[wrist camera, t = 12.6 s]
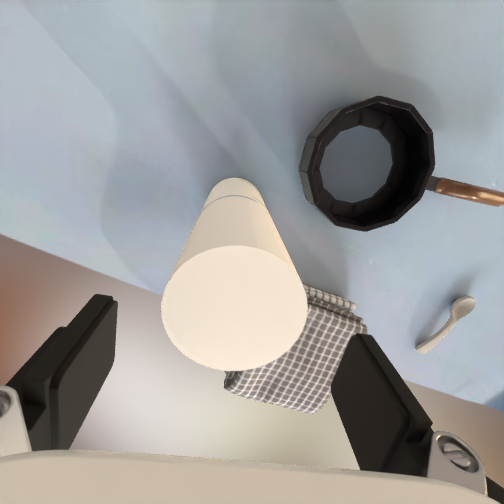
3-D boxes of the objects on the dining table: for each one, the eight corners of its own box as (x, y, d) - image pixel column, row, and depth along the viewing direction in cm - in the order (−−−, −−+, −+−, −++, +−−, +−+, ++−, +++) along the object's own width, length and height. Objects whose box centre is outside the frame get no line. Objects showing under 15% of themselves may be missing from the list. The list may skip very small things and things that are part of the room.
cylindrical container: (215, 169, 36) (179, 226, 12) (269, 187, 37) (330, 269, 13) (201, 223, 38) (148, 355, 15) (252, 238, 39) (278, 382, 16)
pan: (319, 89, 33) (331, 82, 29) (507, 140, 36) (543, 140, 32) (287, 209, 38) (294, 217, 34) (456, 244, 41) (481, 255, 37)
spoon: (474, 297, 44) (484, 304, 43) (422, 349, 49) (428, 358, 47) (460, 289, 44) (469, 297, 42) (408, 343, 48) (415, 352, 46)
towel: (221, 362, 46) (219, 403, 39) (268, 265, 41) (275, 293, 33) (304, 386, 49) (317, 429, 42) (358, 299, 44) (383, 331, 36)
